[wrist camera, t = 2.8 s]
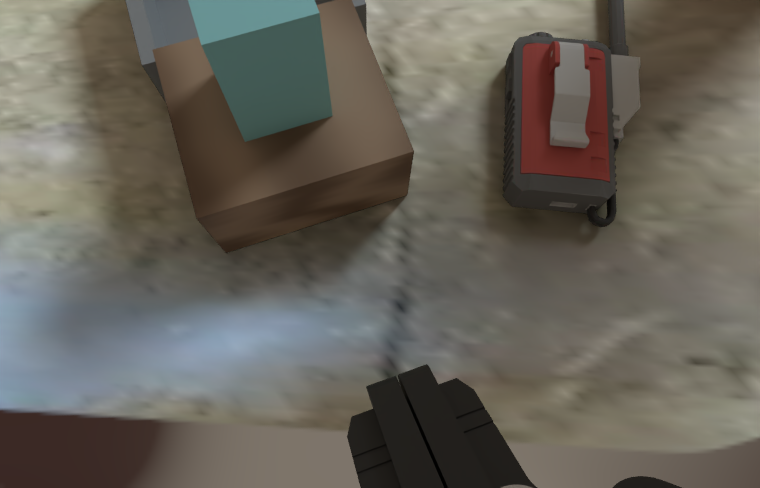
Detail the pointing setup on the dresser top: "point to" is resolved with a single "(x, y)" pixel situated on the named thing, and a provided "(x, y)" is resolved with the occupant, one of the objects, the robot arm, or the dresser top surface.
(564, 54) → the walkie-talkie
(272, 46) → the block
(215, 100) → the brown box
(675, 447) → the dresser top surface
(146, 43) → the box
